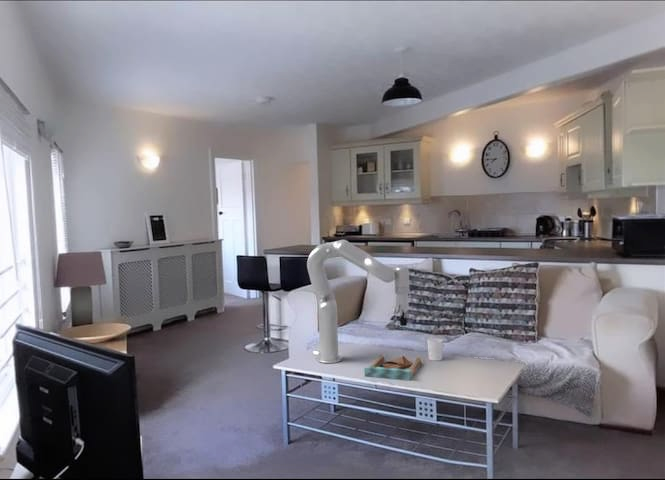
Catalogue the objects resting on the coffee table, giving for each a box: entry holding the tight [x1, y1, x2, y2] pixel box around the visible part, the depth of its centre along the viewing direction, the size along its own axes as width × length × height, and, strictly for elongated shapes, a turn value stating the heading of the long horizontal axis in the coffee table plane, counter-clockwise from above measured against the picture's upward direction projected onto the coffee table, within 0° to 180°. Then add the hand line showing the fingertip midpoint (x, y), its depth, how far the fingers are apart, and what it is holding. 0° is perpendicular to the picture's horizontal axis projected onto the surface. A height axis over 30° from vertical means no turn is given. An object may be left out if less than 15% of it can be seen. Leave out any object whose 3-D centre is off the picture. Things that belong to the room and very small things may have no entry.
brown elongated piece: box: [379, 355, 414, 369], centre depth 240 cm, size 18×7×7 cm
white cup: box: [426, 337, 444, 362], centre depth 251 cm, size 8×8×10 cm
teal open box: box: [363, 354, 422, 381], centre depth 236 cm, size 21×27×4 cm
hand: (403, 325), depth 255 cm, fingers closed
